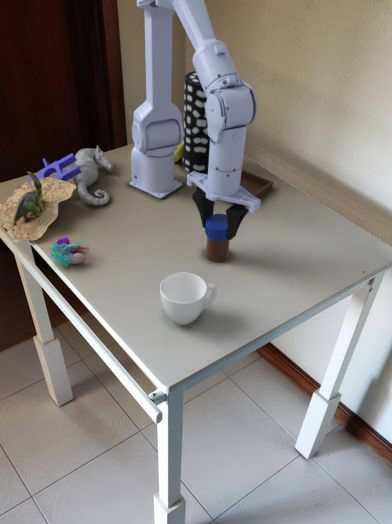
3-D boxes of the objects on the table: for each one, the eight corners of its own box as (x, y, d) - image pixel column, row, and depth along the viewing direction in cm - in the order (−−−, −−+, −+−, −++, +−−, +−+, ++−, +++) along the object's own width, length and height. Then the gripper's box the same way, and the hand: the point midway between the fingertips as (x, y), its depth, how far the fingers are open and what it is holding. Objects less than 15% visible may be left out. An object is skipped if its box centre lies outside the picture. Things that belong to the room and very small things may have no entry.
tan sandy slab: (-37, 208, 98) (-12, 236, 104) (5, 220, 90) (29, 250, 96) (23, 151, 104) (43, 181, 110) (67, 157, 97) (86, 189, 102)
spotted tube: (200, 153, 125) (205, 67, 110) (223, 167, 121) (231, 79, 106) (175, 163, 121) (176, 76, 106) (198, 177, 117) (203, 88, 102)
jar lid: (199, 234, 94) (200, 222, 92) (215, 221, 96) (216, 210, 95) (222, 245, 92) (223, 233, 90) (238, 232, 94) (239, 220, 93)
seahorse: (130, 196, 107) (107, 140, 117) (77, 193, 102) (58, 135, 112) (124, 214, 111) (103, 159, 121) (73, 212, 106) (55, 155, 116)
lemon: (172, 143, 125) (181, 156, 127) (162, 155, 119) (172, 168, 121) (184, 133, 122) (193, 147, 124) (174, 146, 117) (184, 159, 119)
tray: (205, 191, 113) (205, 184, 112) (232, 172, 119) (233, 165, 118) (246, 209, 109) (247, 202, 108) (272, 189, 115) (273, 181, 114)
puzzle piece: (85, 181, 106) (81, 176, 104) (37, 208, 107) (33, 204, 106) (72, 148, 109) (68, 143, 108) (26, 175, 111) (22, 170, 109)
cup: (154, 307, 87) (153, 277, 82) (206, 294, 90) (208, 265, 85) (169, 337, 83) (169, 308, 77) (223, 323, 85) (227, 294, 80)
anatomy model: (90, 225, 95) (53, 222, 94) (86, 252, 89) (47, 248, 88) (90, 247, 98) (55, 244, 97) (86, 273, 93) (49, 270, 92)
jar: (201, 255, 97) (203, 223, 92) (214, 245, 100) (217, 213, 94) (219, 265, 96) (222, 233, 90) (232, 254, 98) (236, 222, 93)
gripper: (177, 157, 84) (175, 225, 94) (248, 188, 79) (239, 256, 89) (201, 143, 88) (198, 210, 98) (271, 171, 83) (259, 238, 93)
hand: (218, 231), depth 94 cm, fingers closed on jar lid, 5 cm apart
